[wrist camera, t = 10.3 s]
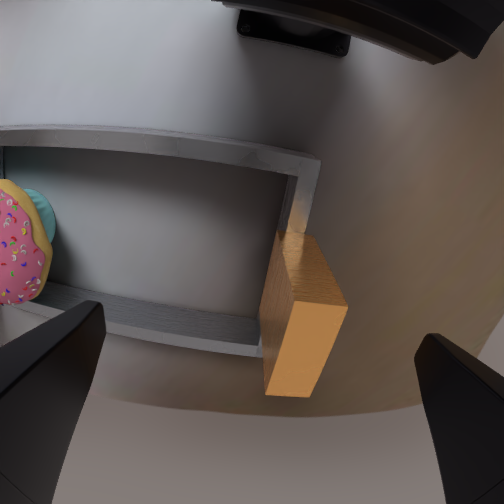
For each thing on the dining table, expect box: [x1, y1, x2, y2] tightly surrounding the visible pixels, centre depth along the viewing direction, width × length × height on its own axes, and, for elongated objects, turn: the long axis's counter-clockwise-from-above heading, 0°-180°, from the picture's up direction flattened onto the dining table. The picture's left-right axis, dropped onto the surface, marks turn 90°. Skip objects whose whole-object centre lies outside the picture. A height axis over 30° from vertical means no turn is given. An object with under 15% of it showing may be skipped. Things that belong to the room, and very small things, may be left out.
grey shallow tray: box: [0, 125, 348, 397], centre depth 15 cm, size 23×13×10 cm, turn 80°
